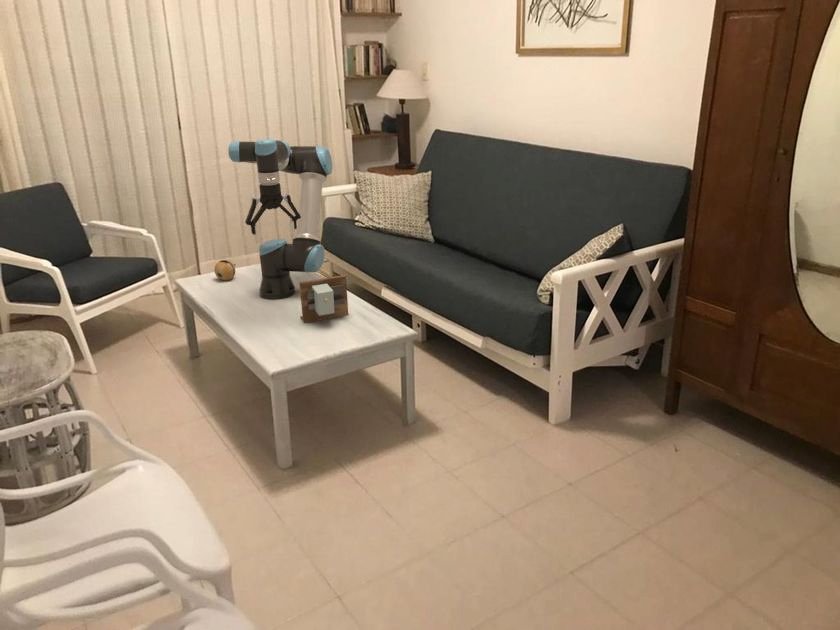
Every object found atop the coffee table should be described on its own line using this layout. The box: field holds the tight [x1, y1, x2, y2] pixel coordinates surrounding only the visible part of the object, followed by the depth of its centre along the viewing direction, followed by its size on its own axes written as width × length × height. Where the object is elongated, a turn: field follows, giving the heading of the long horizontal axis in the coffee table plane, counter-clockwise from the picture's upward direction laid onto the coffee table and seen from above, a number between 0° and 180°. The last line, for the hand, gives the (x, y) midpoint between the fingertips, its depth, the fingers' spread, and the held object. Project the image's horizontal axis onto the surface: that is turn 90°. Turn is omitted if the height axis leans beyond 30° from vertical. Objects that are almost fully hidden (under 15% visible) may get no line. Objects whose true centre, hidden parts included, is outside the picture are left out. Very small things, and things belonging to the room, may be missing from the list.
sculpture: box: [214, 259, 236, 282], centre depth 314 cm, size 9×9×15 cm
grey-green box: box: [312, 284, 334, 316], centre depth 259 cm, size 9×6×9 cm
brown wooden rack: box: [298, 274, 349, 323], centre depth 265 cm, size 8×18×16 cm, turn 115°
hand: (275, 240), depth 256 cm, fingers open, 13 cm apart
